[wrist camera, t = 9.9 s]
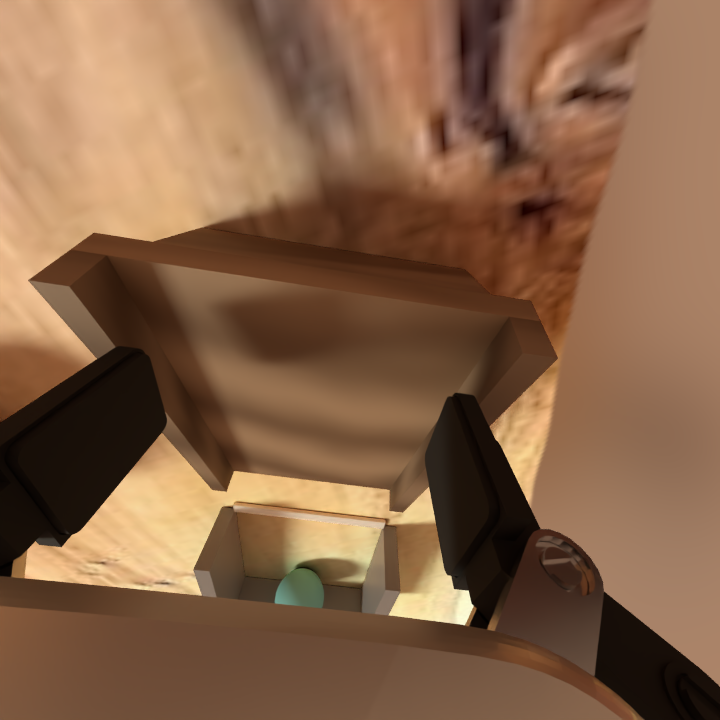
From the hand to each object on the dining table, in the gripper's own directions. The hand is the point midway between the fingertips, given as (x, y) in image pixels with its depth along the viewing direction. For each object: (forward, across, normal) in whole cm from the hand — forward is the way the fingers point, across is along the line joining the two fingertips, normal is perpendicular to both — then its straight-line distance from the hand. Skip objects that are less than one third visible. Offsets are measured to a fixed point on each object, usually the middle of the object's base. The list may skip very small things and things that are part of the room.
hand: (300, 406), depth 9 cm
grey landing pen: (+8, 0, +27) cm, 28 cm away
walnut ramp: (+8, 0, +5) cm, 9 cm away
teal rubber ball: (+6, 0, +28) cm, 29 cm away
